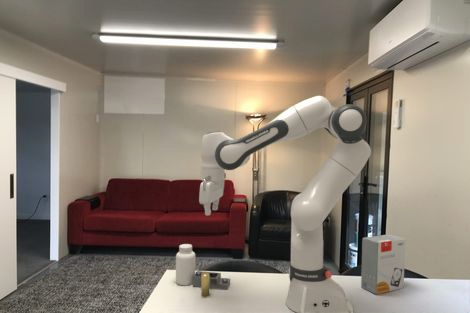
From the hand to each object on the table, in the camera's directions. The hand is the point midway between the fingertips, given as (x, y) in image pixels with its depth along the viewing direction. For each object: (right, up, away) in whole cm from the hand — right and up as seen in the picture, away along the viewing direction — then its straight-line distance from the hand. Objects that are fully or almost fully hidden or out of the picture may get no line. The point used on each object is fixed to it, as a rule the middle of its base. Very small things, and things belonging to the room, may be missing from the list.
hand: (211, 212), depth 116 cm
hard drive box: (+67, -32, +7) cm, 75 cm away
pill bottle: (-12, -31, +13) cm, 36 cm away
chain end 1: (-3, -31, +10) cm, 33 cm away
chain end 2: (+1, -31, +9) cm, 33 cm away
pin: (-2, -31, +1) cm, 31 cm away
